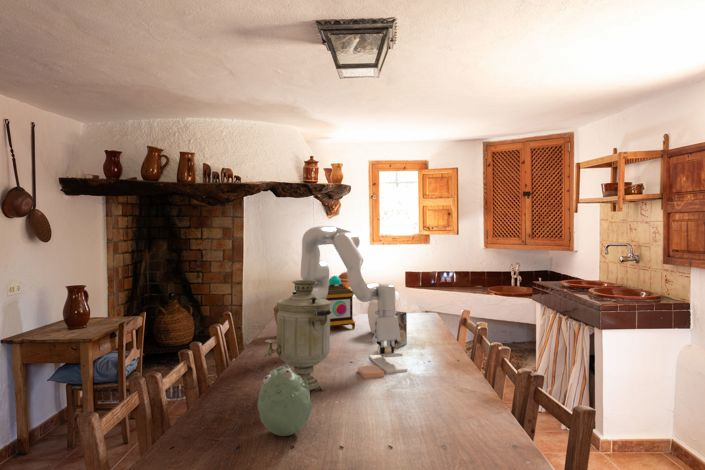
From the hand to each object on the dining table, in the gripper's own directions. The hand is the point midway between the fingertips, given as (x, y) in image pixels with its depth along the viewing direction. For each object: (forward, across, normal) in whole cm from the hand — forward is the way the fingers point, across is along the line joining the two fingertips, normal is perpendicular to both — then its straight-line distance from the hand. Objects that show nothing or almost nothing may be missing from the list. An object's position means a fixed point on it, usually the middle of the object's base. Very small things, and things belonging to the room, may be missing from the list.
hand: (386, 355), depth 225 cm
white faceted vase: (+4, +16, +54) cm, 57 cm away
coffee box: (+4, +15, +29) cm, 33 cm away
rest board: (+4, 0, -1) cm, 4 cm away
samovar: (+4, -43, -24) cm, 49 cm away
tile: (+3, -11, -7) cm, 13 cm away
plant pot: (+3, -34, +64) cm, 73 cm away
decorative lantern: (+3, -5, +77) cm, 77 cm away
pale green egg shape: (+4, -52, -61) cm, 80 cm away
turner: (0, 0, -1) cm, 1 cm away
